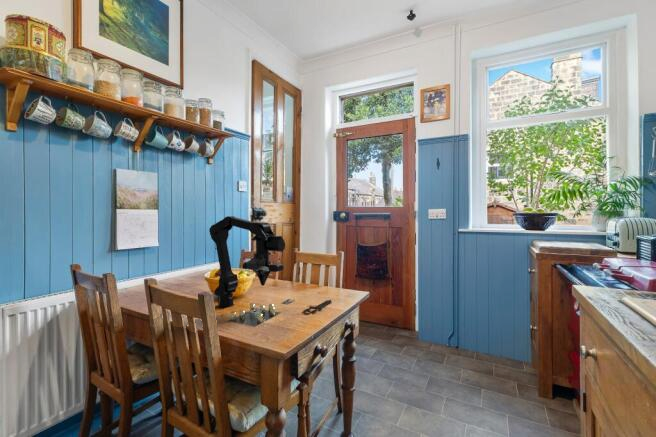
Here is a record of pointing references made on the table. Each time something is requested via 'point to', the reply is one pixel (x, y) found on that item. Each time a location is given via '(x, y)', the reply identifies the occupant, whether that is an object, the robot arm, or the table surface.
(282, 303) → the pliers
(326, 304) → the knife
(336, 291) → the table surface
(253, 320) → the spacer plate
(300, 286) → the table surface
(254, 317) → the nut
